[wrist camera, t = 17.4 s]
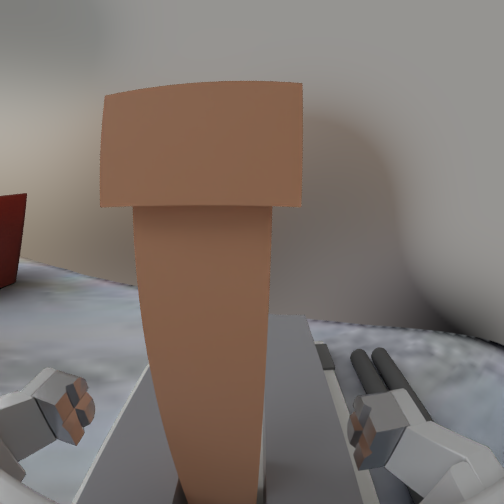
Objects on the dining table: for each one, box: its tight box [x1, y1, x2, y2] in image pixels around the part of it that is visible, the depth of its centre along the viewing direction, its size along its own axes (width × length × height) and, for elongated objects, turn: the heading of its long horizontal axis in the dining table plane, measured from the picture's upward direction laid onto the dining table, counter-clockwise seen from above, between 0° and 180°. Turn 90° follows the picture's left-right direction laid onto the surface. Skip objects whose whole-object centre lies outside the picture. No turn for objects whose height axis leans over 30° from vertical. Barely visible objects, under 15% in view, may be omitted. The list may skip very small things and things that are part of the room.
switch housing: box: [71, 315, 380, 504], centre depth 15 cm, size 16×24×4 cm
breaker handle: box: [100, 81, 303, 504], centre depth 8 cm, size 4×4×16 cm
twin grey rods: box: [350, 348, 434, 504], centre depth 15 cm, size 4×20×2 cm, turn 179°
